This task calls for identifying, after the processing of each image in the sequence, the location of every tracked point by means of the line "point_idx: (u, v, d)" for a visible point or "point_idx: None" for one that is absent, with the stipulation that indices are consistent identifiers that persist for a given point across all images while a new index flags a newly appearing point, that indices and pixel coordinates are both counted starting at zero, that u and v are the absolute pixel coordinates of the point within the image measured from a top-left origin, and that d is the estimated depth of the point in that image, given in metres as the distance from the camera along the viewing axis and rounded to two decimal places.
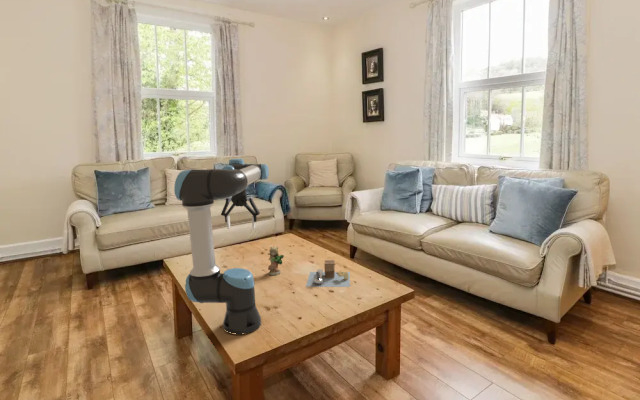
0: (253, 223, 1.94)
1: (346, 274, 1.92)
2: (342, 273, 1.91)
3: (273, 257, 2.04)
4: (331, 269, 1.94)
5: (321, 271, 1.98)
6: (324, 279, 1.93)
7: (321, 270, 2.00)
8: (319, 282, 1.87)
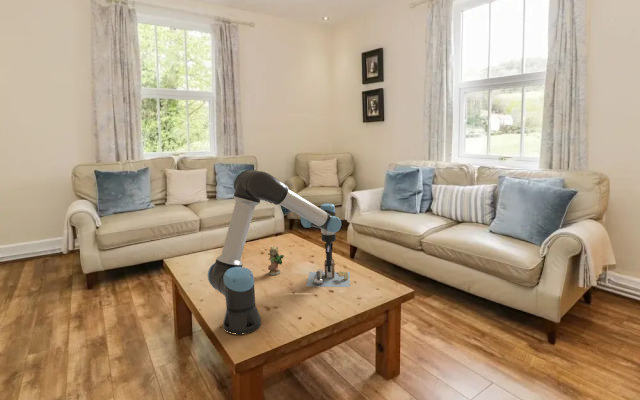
0: None
1: (346, 274, 1.92)
2: (342, 273, 1.91)
3: (273, 257, 2.04)
4: None
5: (321, 271, 1.98)
6: (324, 279, 1.93)
7: (321, 270, 2.00)
8: (319, 282, 1.87)
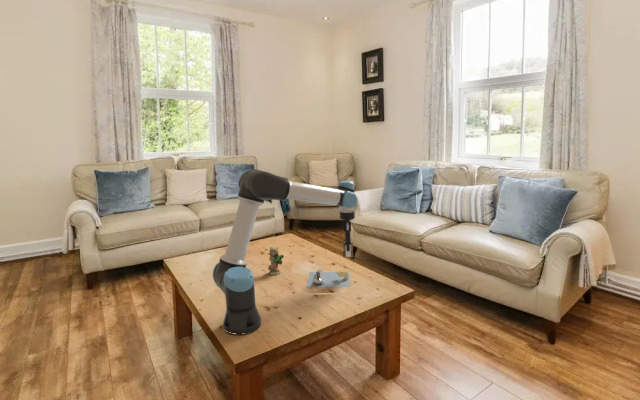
0: None
1: (346, 274, 1.92)
2: (342, 273, 1.91)
3: (273, 257, 2.04)
4: None
5: (321, 271, 1.98)
6: (324, 279, 1.93)
7: (321, 270, 2.00)
8: (319, 282, 1.87)
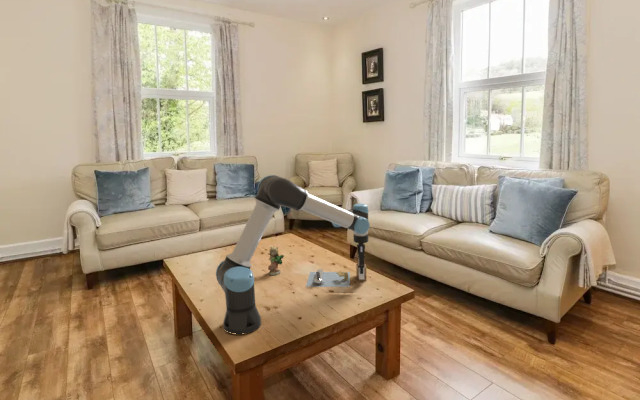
0: None
1: (346, 274, 1.92)
2: (342, 273, 1.91)
3: (273, 257, 2.04)
4: None
5: (321, 271, 1.98)
6: (324, 279, 1.93)
7: (321, 270, 2.00)
8: (319, 282, 1.87)
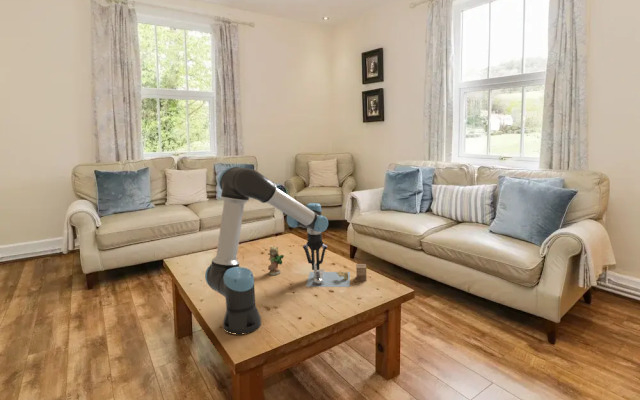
0: None
1: (346, 274, 1.92)
2: (342, 273, 1.91)
3: (273, 257, 2.04)
4: (364, 273, 1.90)
5: (322, 271, 1.98)
6: (324, 279, 1.93)
7: (322, 270, 2.00)
8: (319, 282, 1.87)
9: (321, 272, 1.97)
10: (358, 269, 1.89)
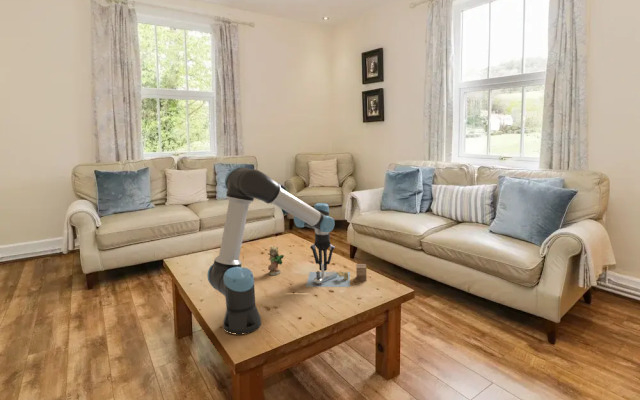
0: None
1: (346, 274, 1.92)
2: (342, 273, 1.91)
3: (273, 257, 2.04)
4: (364, 273, 1.90)
5: (332, 273, 1.95)
6: None
7: (334, 272, 1.96)
8: (316, 282, 1.87)
9: (330, 274, 1.94)
10: (358, 269, 1.89)
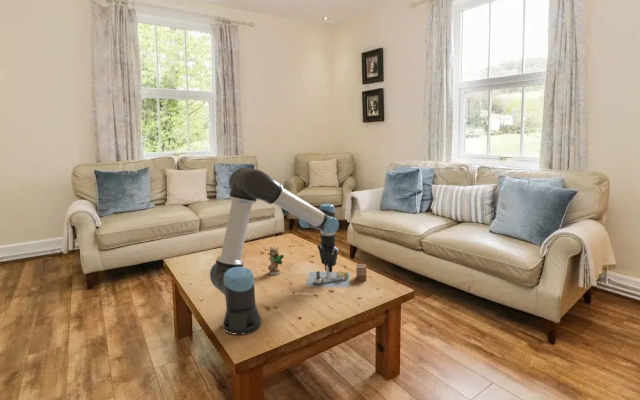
0: None
1: (346, 274, 1.92)
2: (342, 273, 1.91)
3: (273, 257, 2.04)
4: (363, 273, 1.90)
5: (337, 276, 1.91)
6: None
7: None
8: (315, 282, 1.87)
9: (334, 276, 1.91)
10: (358, 269, 1.89)
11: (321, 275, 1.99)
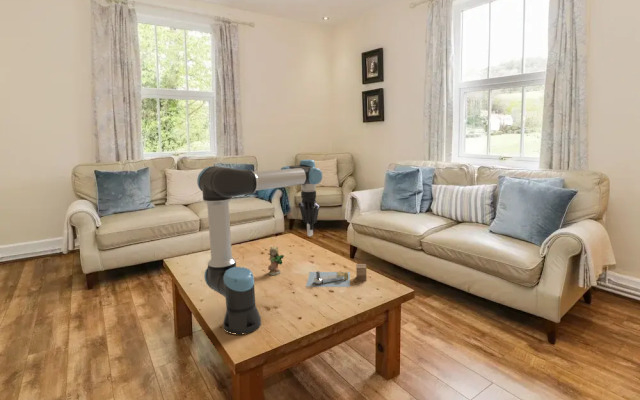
0: None
1: (346, 274, 1.92)
2: (342, 273, 1.91)
3: (273, 257, 2.04)
4: (364, 273, 1.90)
5: (337, 276, 1.91)
6: None
7: None
8: (315, 282, 1.87)
9: (334, 276, 1.91)
10: (358, 269, 1.89)
11: (321, 275, 1.99)
